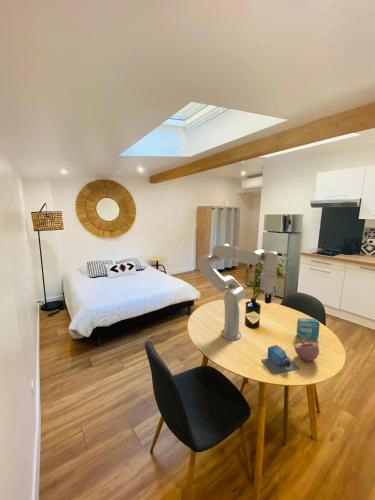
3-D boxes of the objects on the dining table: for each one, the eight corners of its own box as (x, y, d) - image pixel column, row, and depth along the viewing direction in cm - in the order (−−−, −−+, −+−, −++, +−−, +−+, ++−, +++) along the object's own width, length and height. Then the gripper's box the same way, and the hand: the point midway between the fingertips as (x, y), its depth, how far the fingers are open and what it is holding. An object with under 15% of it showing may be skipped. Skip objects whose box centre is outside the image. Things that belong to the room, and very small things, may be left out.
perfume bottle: (268, 347, 126) (284, 360, 115) (276, 345, 128) (293, 357, 117) (267, 357, 127) (283, 371, 116) (276, 354, 129) (292, 368, 118)
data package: (298, 337, 146) (299, 321, 144) (296, 334, 151) (297, 317, 149) (318, 339, 145) (320, 322, 142) (315, 335, 149) (317, 318, 147)
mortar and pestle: (302, 349, 134) (304, 332, 132) (322, 361, 124) (324, 342, 122) (289, 355, 129) (290, 337, 127) (308, 368, 118) (310, 349, 116)
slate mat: (261, 360, 125) (261, 359, 125) (286, 355, 129) (286, 354, 129) (273, 374, 115) (273, 373, 115) (299, 368, 119) (299, 367, 118)
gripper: (256, 269, 134) (255, 298, 138) (271, 277, 120) (269, 309, 124) (267, 268, 136) (266, 297, 140) (283, 276, 122) (281, 307, 125)
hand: (267, 302), depth 132 cm, fingers closed
